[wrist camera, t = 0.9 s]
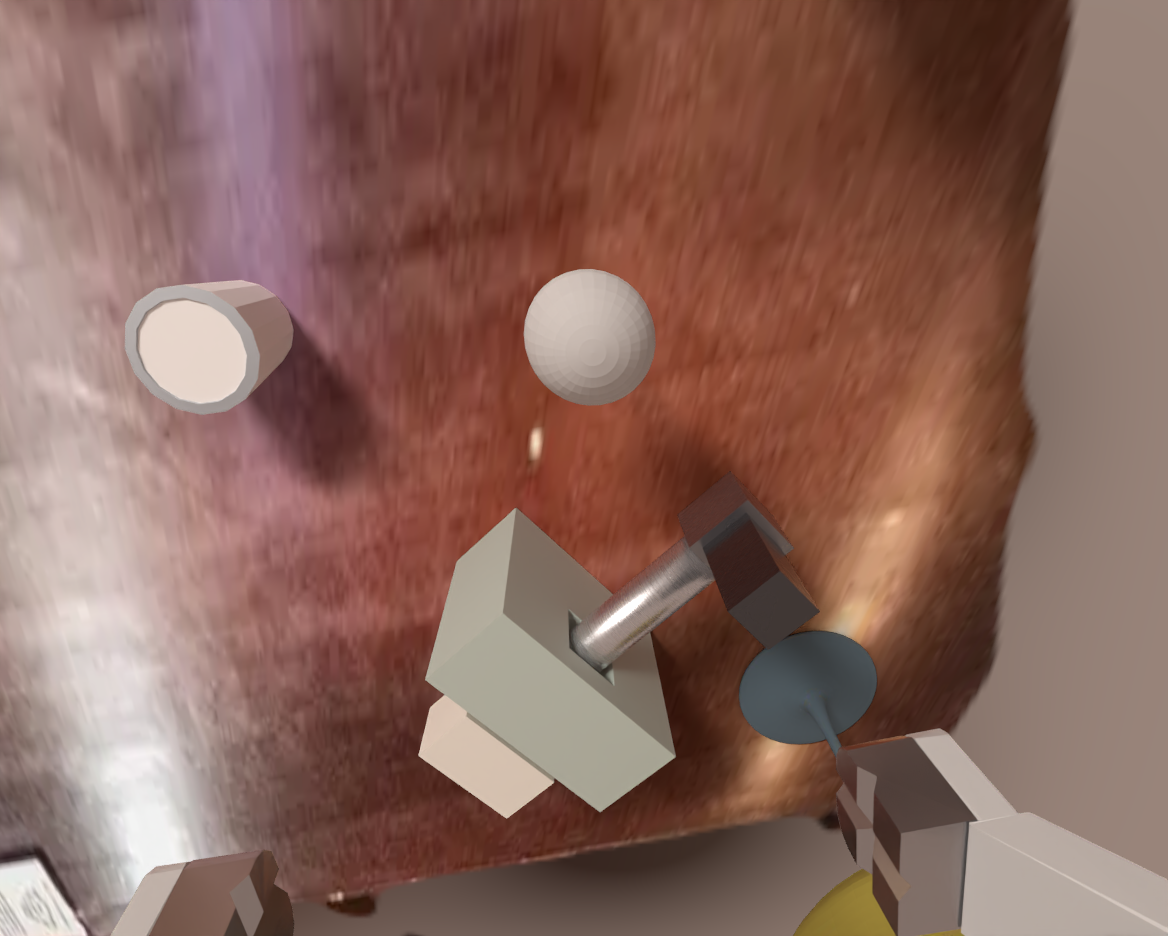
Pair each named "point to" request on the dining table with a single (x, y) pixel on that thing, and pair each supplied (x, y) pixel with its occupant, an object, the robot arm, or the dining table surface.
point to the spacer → (480, 759)
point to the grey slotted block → (548, 666)
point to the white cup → (207, 342)
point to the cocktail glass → (810, 714)
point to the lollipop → (589, 337)
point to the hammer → (706, 578)
